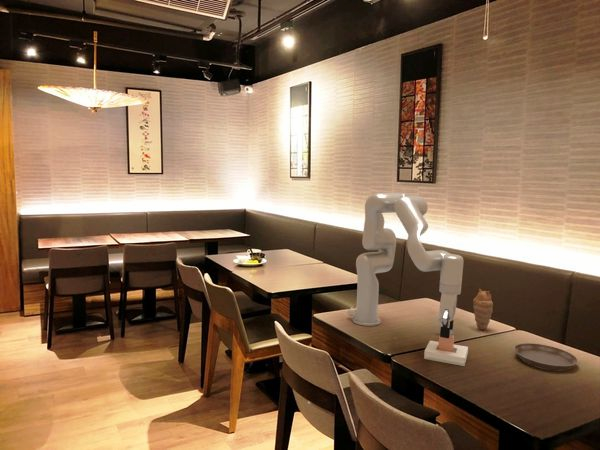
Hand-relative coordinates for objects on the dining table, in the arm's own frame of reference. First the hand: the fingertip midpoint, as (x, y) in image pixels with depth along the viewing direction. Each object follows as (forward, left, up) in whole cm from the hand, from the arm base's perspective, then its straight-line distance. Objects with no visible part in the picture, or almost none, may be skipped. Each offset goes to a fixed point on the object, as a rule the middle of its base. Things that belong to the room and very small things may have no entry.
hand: (446, 333), depth 172 cm
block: (0, 0, -8) cm, 8 cm away
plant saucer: (+34, +13, -9) cm, 37 cm away
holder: (+1, 0, -9) cm, 9 cm away
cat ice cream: (+11, +39, -9) cm, 41 cm away
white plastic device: (-3, +25, -9) cm, 26 cm away
